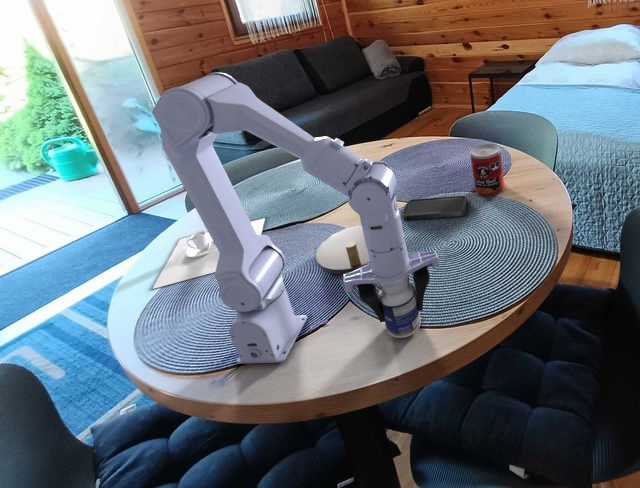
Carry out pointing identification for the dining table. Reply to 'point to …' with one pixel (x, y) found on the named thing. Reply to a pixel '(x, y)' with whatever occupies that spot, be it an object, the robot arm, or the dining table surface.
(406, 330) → the pill bottle
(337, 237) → the tray
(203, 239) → the teacup and saucer
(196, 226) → the dining table surface
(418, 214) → the phone
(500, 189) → the canned food
